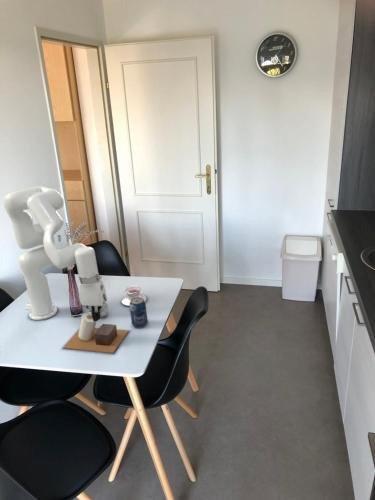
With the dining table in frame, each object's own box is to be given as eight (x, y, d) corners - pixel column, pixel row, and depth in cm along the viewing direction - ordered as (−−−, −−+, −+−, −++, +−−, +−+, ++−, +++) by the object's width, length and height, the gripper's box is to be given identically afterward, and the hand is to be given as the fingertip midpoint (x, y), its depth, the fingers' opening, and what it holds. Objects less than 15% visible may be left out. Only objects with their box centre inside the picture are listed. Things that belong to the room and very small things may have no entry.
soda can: (136, 330, 179) (133, 306, 175) (129, 324, 184) (126, 299, 180) (150, 325, 182) (148, 301, 178) (143, 319, 188) (140, 295, 184)
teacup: (144, 306, 199) (143, 294, 197) (119, 307, 200) (118, 295, 197) (147, 294, 210) (146, 283, 208) (123, 295, 211) (122, 284, 209)
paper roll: (79, 344, 174) (67, 320, 170) (85, 335, 179) (74, 312, 175) (100, 340, 170) (89, 316, 166) (107, 332, 175) (96, 308, 172)
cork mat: (63, 348, 170) (63, 347, 170) (82, 327, 184) (81, 326, 184) (113, 353, 164) (113, 352, 164) (128, 331, 179) (128, 330, 179)
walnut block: (95, 344, 170) (94, 334, 168) (104, 334, 177) (102, 323, 176) (109, 346, 169) (107, 335, 167) (117, 335, 176) (115, 324, 174)
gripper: (110, 274, 165) (117, 316, 171) (76, 274, 169) (84, 314, 175) (102, 282, 158) (109, 325, 165) (67, 281, 162) (75, 323, 169)
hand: (96, 319), depth 170 cm, fingers closed
